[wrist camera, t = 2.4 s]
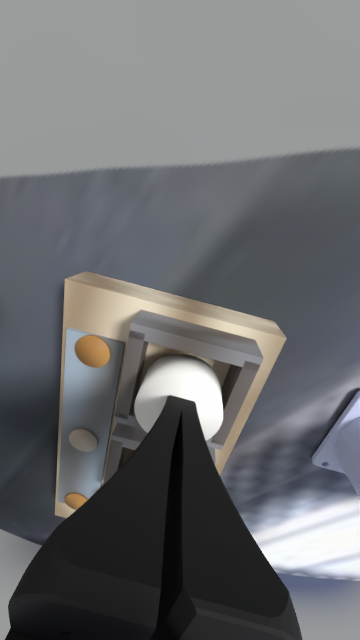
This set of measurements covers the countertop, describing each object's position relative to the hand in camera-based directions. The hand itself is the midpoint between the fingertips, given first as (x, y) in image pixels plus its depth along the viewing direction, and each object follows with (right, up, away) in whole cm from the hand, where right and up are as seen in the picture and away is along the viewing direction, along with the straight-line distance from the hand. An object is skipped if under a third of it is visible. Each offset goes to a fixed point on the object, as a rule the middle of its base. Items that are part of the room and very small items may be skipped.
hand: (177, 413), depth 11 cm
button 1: (0, +1, +2) cm, 2 cm away
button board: (-3, -4, +9) cm, 10 cm away
